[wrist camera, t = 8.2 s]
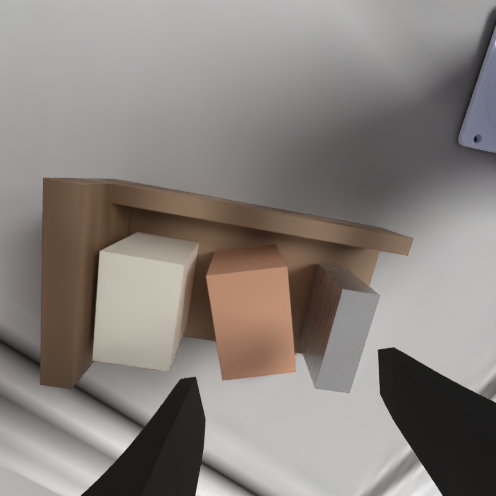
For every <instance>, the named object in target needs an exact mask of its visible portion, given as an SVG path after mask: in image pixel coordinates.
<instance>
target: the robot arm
mask: <svg viewBox="0 0 496 496" xmlns="http://www.w3.org/2000/svg"><path fill="white" fill-rule="evenodd" d="M475 136H476V137H477V141H476V142H474V137H475ZM458 141H459V144H460V145H462V146H464V147H469V148H474V149H479V150H483V151H488V152H493V153H496V27H495V29H494V32H493V35H492V38H491V41H490V44H489V47H488V50H487V53H486V56H485V59H484V62H483V65H482V68H481V71H480V74H479V77H478V80H477V83H476V86H475V89H474V92H473V95H472V98H471V101H470V104H469V107H468V110H467V113H466V116H465V119H464V122H463V125H462V128H461V131H460V134H459V137H458ZM378 360H379V382H380V395H381V397H382V399H383V401H384V403H385V405H386V407H387V409H388V411H389V413H390V415H391V416H392V418H393V420H394V422H395V423H396V425H397V427H398V428H399V430H400V431H401V433H402V434H403V436H404V437H405V439H406V440H407V442H408V443H409V445H410V446H411V448H412V449H413V451H414V452H415V454H416V456H417V457H418V459H419V460H420V462H421V463H422V465H423V466H424V468H425V469H426V471H427V472H428V474H429V475H430V477H431V478H432V480H433V481H434V483H435V484H436V486H437V487H438V489H439V491H440V492H441V494H442V495H443V496H496V403H495V402H493V401H491V400H489V399H487V398H485V397H483V396H481V395H479V394H477V393H475V392H473V391H471V390H469V389H467V388H465V387H463V386H461V385H460V384H458V383H456V382H454V381H452V380H450V379H448V378H447V377H445V376H443V375H441V374H439V373H438V372H436V371H434V370H432V369H431V368H429V367H427V366H425V365H424V364H422V363H420V362H419V361H417V360H415V359H413V358H412V357H410V356H408V355H407V354H405V353H403V352H401V351H399V350H398V349H396V348H394V347H393V348H386V349H380V350H378ZM205 420H206V419H205V415H204V410H203V406H202V402H201V397H200V393H199V389H198V384H197V380H196V377H191V378H184V379H180V380H179V382H178V383H177V384H176V386H175V387H174V388H173V390H172V391H171V393H170V394H169V395H168V397H167V398H166V400H165V401H164V402H163V404H162V405H161V406H160V408H159V409H158V410H157V412H156V413H155V414H154V416H153V417H152V418H151V420H150V421H149V422H148V424H147V425H146V426H145V428H144V429H143V430H142V431H141V432H140V434H139V435H138V436H137V437H136V438H135V440H134V441H133V442H132V443H131V445H130V446H129V447H128V448H127V449H126V450H125V452H124V453H123V454H122V455H121V456H120V457H119V458H118V459H117V460H116V461H115V462H114V464H113V465H112V466H111V467H110V468H109V469H108V470H107V471H106V472H105V473H104V474H103V475H102V476H101V477H100V478H99V479H98V480H97V481H96V482H95V483H94V484H93V485H92V486H91V487H90V488H89V489H88V490H86V491H85V492H84V493H83V494H82V495H81V496H195V494H196V489H197V483H198V478H199V472H200V466H201V460H202V455H203V449H204V436H205Z"/></svg>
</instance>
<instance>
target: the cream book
mask: <svg viewBox="0 0 496 496" xmlns="http://www.w3.org/2000/svg"><path fill="white" fill-rule="evenodd" d="M198 246H199V243H197V242H192V241H186V240H180V239H174V238H169V237H163V236H157V235H151V234H145V233H140V232H137V233H135V234H133V235H131V236H129V237H127V238H125V239H123V240H121V241H119V242H117V243H115V244H113V245H111V246H109V247H107V248H105V249H103V250H101V251H100V254H99V269H98V285H97V300H96V315H95V330H94V345H93V361H98V362H105V363H113V364H120V365H127V366H134V367H141V368H148V369H155V370H162V371H170V368H171V366H172V363H173V360H174V357H175V355H176V352H177V349H178V347H179V344H180V341H181V339H182V336H183V333H184V331H185V328H186V325H187V320H188V313H189V306H190V299H191V293H192V286H193V279H194V273H195V266H196V259H197V252H198Z"/></svg>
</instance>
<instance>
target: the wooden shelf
mask: <svg viewBox="0 0 496 496" xmlns="http://www.w3.org/2000/svg"><path fill="white" fill-rule="evenodd" d="M137 232H140V233H145V234H151V235H157V236H163V237H169V238H174V239H180V240H186V241H192V242H197V243H199V246H198V252H197V259H196V266H195V273H194V279H193V286H192V293H191V299H190V306H189V313H188V320H187V325H186V328H185V331H184V333H183V336H186V337H193V338H200V339H206V340H213V341H216V336H215V330H214V323H213V317H212V310H211V304H210V298H209V291H208V285H207V279H206V275H207V272H208V269H209V266H210V263H211V261H212V258H213V255H214V252H215V251H218V250H227V249H235V248H244V247H253V246H261V245H270V244H275V245H276V247H277V249H278V250H279V252H280V254H281V256H282V258H283V259H284V261H285V263H286V265H287V269H288V281H289V293H290V305H291V317H292V329H293V341H294V353H301V354H303V353H302V351H301V348H300V345H299V340H300V336H301V332H302V328H303V324H304V320H305V316H306V312H307V308H308V304H309V300H310V296H311V292H312V288H313V284H314V280H315V276H316V272H317V268H318V264H324V265H330V266H335V267H341V268H347V269H349V270H350V271H351V272H352V273H353V274H355V275H356V276H357V277H358V278H360V279H361V280H362V281H363V282H364V283H366V284H367V285H368V286H369V285H370V281H371V278H372V275H373V271H374V268H375V265H376V261H377V258H378V255H379V251H385V252H390V253H396V254H401V255H407V256H408V254H409V251H410V248H411V245H412V242H413V238H410V237H407V236H404V235H401V234H398V233H395V232H392V231H389V230H386V229H383V228H379V227H373V226H368V225H363V224H357V223H352V222H346V221H341V220H335V219H330V218H324V217H319V216H313V215H308V214H303V213H297V212H292V211H286V210H281V209H275V208H270V207H264V206H259V205H253V204H248V203H243V202H237V201H232V200H226V199H221V198H215V197H210V196H204V195H199V194H193V193H188V192H183V191H177V190H172V189H166V188H161V187H155V186H150V185H144V184H139V183H133V182H128V181H123V180H117V179H84V178H43V228H42V295H41V363H40V385H46V386H53V387H61V388H68V389H72V388H73V387H74V385H75V384H76V383H77V382H78V380H79V379H80V378H81V377H82V375H83V374H84V373H85V372H86V371H87V369H88V368H89V367H90V366H91V364H92V363H93V362H94V361H93V345H94V330H95V315H96V300H97V285H98V269H99V254H100V251H101V250H103V249H105V248H107V247H109V246H111V245H113V244H115V243H117V242H119V241H121V240H123V239H125V238H127V237H129V236H131V235H133V234H135V233H137Z"/></svg>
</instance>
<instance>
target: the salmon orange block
mask: <svg viewBox="0 0 496 496" xmlns="http://www.w3.org/2000/svg"><path fill="white" fill-rule="evenodd" d="M206 279H207V285H208V291H209V298H210V304H211V310H212V317H213V323H214V330H215V336H216V342H217V349H218V355H219V362H220V368H221V374H222V380H231V379H240V378H248V377H257V376H265V375H274V374H283V373H291V372H296V365H295V353H294V341H293V329H292V317H291V305H290V293H289V281H288V269H287V265H286V263H285V261H284V259H283V258H282V256H281V254H280V252H279V250H278V249H277V247H276V245H275V244H270V245H261V246H253V247H244V248H235V249H227V250H218V251H215V252H214V255H213V258H212V261H211V263H210V266H209V269H208V272H207V275H206Z"/></svg>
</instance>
